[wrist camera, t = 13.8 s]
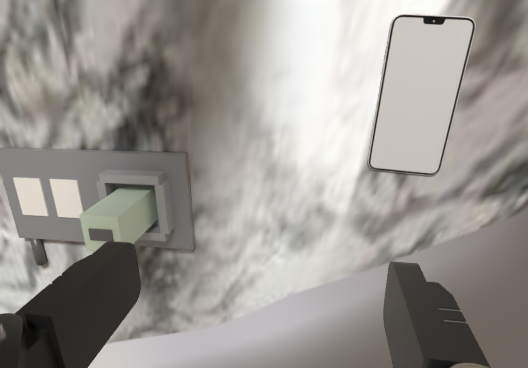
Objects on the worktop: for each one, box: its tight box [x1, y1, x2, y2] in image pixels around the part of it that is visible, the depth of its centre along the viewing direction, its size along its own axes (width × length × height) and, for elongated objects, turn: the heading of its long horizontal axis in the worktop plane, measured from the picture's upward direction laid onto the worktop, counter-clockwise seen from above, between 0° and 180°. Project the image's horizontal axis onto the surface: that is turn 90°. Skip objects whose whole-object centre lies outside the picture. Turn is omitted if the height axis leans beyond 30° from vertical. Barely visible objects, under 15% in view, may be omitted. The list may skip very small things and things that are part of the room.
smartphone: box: [368, 14, 476, 176], centre depth 35 cm, size 7×1×15 cm
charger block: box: [79, 186, 158, 251], centre depth 39 cm, size 4×4×8 cm
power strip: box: [0, 147, 195, 265], centre depth 44 cm, size 16×24×3 cm, turn 91°
